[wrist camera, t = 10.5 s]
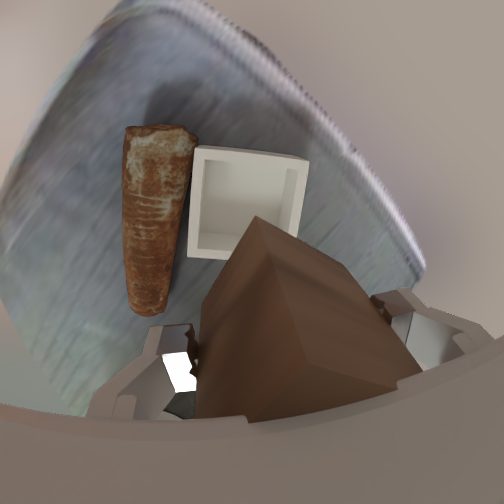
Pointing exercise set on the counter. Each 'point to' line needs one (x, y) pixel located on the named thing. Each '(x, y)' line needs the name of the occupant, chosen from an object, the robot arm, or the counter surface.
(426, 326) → the robot arm
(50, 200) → the counter surface
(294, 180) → the bin
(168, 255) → the bread
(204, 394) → the walnut block
